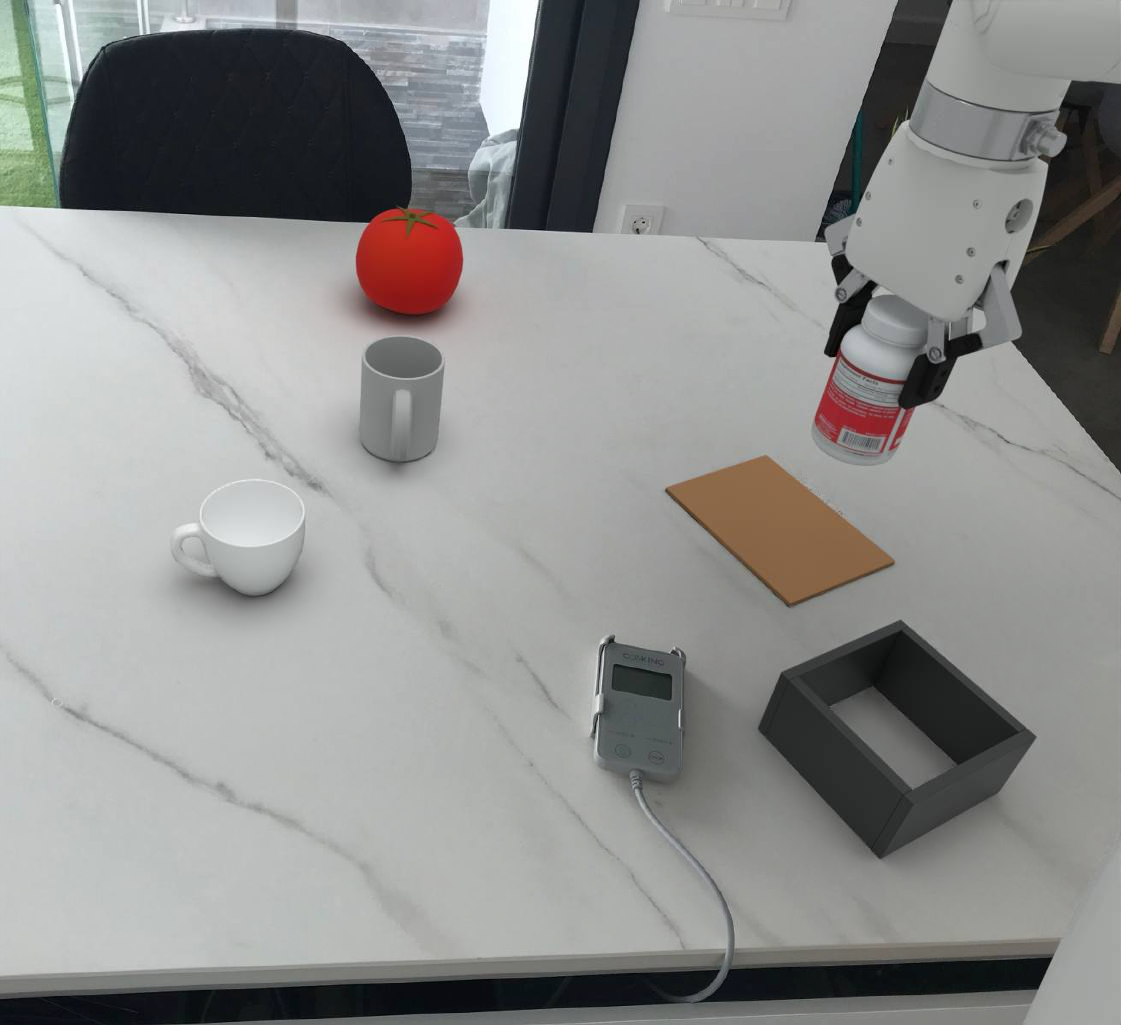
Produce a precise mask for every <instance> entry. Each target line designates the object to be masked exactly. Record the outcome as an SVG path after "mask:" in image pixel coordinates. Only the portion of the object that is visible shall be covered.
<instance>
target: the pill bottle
mask: <svg viewBox="0 0 1121 1025" xmlns="http://www.w3.org/2000/svg"><path fill="white" fill-rule="evenodd" d="M927 335H928V314H927V313H925V312H923V311H921V310H920V309H918V308H916V307H915V306H913V305H911V304H910V303H908V302H906V301H905V300H903V299H901V298H900V297H898V296H897V295H895V294H880V295H876V296H873V298H872V299H871V300H870V301H869V302H868V305H867V307H866V310H865V313H864V316H863V318H862V324H859V325H857V326H855V327H853V328H851V329H850V330H849V331H848V332H847V333H846V334H845V336H844V338H843V340H842V342H841V345H840V348H839V351H838V353H837V356H836V357H835V359H834V362H833V365H832V367H831V371H830V373H829V376H828V379H827V382H826V384H825V387H824V390H823V392H822V396H821V398H820V401H819V404H818V407H817V409H816V412H815V415H814V418H813V420H812V423H811V428H810V434H811V438H812V440H813V442H814V444H815V445H816V446H817V447H818V448H819V449H820V450H821V451H822V452H823V453H825V454H826V455H827V456H828V457H830V458H833V459H834V460H836V461H839V462H841V463H844V464H848V465H853V466H858V467H859V466H861V467H874V466H879V465H883V464H885V463H887V462H889V461H890V460H891V459H892V458H894V456H895V455H896V454H897V451H898V449H899V447H900V445H901V443H902V440H903V438H904V435H905V433H906V430H907V427H908V426H909V424H910V421H911V419H912V416H913V414H914V412H915V410H916V407H913V408H910V409H907V410H905V409H903V408H902V407H900V406H899V405H898V399H899V396H900V394H901V391H902V389H903V387H904V384H905V382H906V379H907V377H908V375H909V372H910V370H911V368H912V365H913V363H914V360H915V358H916V357H917V356H918V355H921V354H925V353H927Z"/></svg>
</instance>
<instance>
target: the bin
mask: <svg viewBox="0 0 1121 1025" xmlns="http://www.w3.org/2000/svg"><path fill="white" fill-rule="evenodd" d="M872 686H874V687H875V688H876V689H877V690H878V691H879V692H880V693H881V694H882V695H883V696H884V697H885V698H887V699H888V700H889V702H891V703H892V705H894V706H895V707H896V708H897V709H898V710H899V711H900V712H901V713H902V714H904V715H905V716H906V717H907V718H908V719H909V720H910V721H911V722H912V723H914V725H915V726H916V727H917V728H918V729H920V730H921V731H922V732H923V733H924V734H925V735H926V736H927V737H928V738H929V739H930V740H932V741H933V743H935V745H937V747H939V748H940V750H942V751H943V752H944V753H945V754H947V756H949V757H950V758H951V759H952V760H953V761H954V762H955V763H956V764H957V765H955V766H954V767H953V768H950V769H948V770H947V771H944V772H942V773H941V774H939V775H937V776H936V777H933V778H932V779H930V780H928V781H926V782H924V783H922V784H921V785H919V786H917V787H914V788H912V787H911V786H910V785H909V784H907V783H906V781H905V780H903V778H901V777H900V776H899V775H898V773H896V771H895V770H893V769H892V768H891V766H889V765H888V763H886V761H884V759H882V757H880V756H879V755H878V754H877V753H876V752H875V750H873V749H872V748H871V747H870V746H869V745H868V744H867V743H866V742H865V741H864V740H863V739H862V738H861V737H860V736H859V734H857V733H856V732H855V731H854V730H853V729H851V727H850V726H849V725H848V724H847V723H846V722H845V721H844V720H842V718H841V717H839V715H838V714H837V713H836V712H835V711H833V709H832V708H831V707H830V706H832V705H834V704H837V703H839V702H841V701H844V700H846V699H847V698H849V697H851V696H854V695H855V694H857V693H860V692H862V691H864V690H866V689H869V688H870V687H872ZM768 700H769V701H768V702H767V705H766V707H765V709H764V712H763V715H762V717H761V719H760V722H759V724H758V727H757V729H758V730H759V732H761V733H762V735H763V736H764V737H765V738H766V739H767V740H768V741H769V742H770V743H771V744H772V745H773V746H774V747H775V749H776V750H777V751H778V752H779V753H780V754H781V755H782V756H783V757H784V758H785V759H786V760H787V761H788V762H789V763H790V764H791V766H792V767H793V768H794V769H795V770H796V771H797V772H798V773H799V775H800V776H802V777H803V779H805V781H806V782H807V783H808V784H809V785H810V786H811V787H812V788H813V790H814V791H816V793H818V794H819V795H820V797H821V798H822V799H823V800H824V801H825V802H826V803H827V804H828V805H829V806H830V807H831V809H833V810H834V812H835V813H836V814H837V815H838V816H839V817H840V818H841V819H842V820H843V821H844V822H845V823H846V825H847V826H848V827H849V828H851V830H853V832H854V833H855V834H856V835H857V836H858V837H859V838H860V839H861V840H862V841H863V843H864V844H865V845H866V846H867V847H868V848H869V849H870V850H871V851H872V852H873V853H874V854H875V855H876V857H877V858H879V859H880V860H881V859H883V858H885V857H887V856H888V855H891V854H893V853H894V852H895V851H897V850H899V849H901V848H902V847H904V846H906V845H908V844H911V842H913V841H915V840H916V839H918V838H920V837H922V836H923V835H925V834H927V833H929V832H930V831H932V830H934V829H936V828H938V827H940V826H941V825H943V824H945V823H947V822H948V821H950V820H952V819H954V818H956V817H957V816H959V815H962V814H963V813H964V812H967V811H968V810H970V809H971V808H973V807H975V806H976V805H978V804H980V803H983V802H984V801H986V800H987V799H989V798H992V797H993V796H994V795H996V794H998V793H1000V792H1001V790H1002V789H1003V787H1004V786H1005V784H1006V783H1007V782H1008V780H1009V779H1010V777H1011V776H1012V774H1013V773H1014V771H1015V769H1017V767H1018V765H1019V764H1020V763H1021V761H1022V760H1023V759H1024V757H1025V755H1026V754H1027V752H1028V751H1029V749H1030V748H1031V747H1032V745H1033V744H1034V742H1035V741H1036V739H1037V738H1038V736H1037V735H1036V734H1035V733H1034V732H1032V731H1031V730H1030V729H1029V728H1027V727H1026V726H1025V725H1024V724H1023V723H1022V722H1021V721H1020V720H1018V719H1017V718H1016V717H1015V716H1014V715H1013V714H1012V713H1010V712H1009V711H1008V710H1007V709H1005V707H1003V706H1002V705H1001V704H1000V703H999V702H997V700H996V699H995V698H993V697H991V695H989V694H988V693H987V692H986V691H985V690H984V689H982V688H981V687H980V685H978V684H976V682H974V681H973V680H972V679H971V678H970V677H969V676H967V675H966V674H965V673H964V672H963V671H961V670H960V668H958V667H957V666H956V665H954V664H953V662H951V661H950V660H949V659H947V658H946V657H945V656H944V655H943V654H942V653H940V652H939V651H938V649H936V648H935V647H934V646H932V644H930V643H929V642H928V641H927V640H926V639H925V638H923V637H922V636H921V635H920V634H919V633H917V631H916V630H914V629H913V628H911V627H910V626H909V625H908V624H907V623H906V622H905V621H903V620H902V619H898V620H896V621H894V622H892V623H890V624H887V625H884V626H882V627H881V628H878V629H876V630H874V631H872V632H869V633H866V634H864V635H862V636H860V637H857V638H855V639H853V640H851V641H849V642H846V643H844V644H842V645H840V646H838V647H836V648H833V649H830V650H829V651H826V652H824V653H821V654H820V655H817V656H815V657H812V658H810V659H808V660H806V661H803V662H801V663H798V664H797V665H794V666H791V667H790V668H787V669H784V670H783V671H781V672H780V674H779V677H778V679H777V681H776V684H775V686H774V688H773V691H772V693H771V695H770V698H769V699H768Z"/></svg>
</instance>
